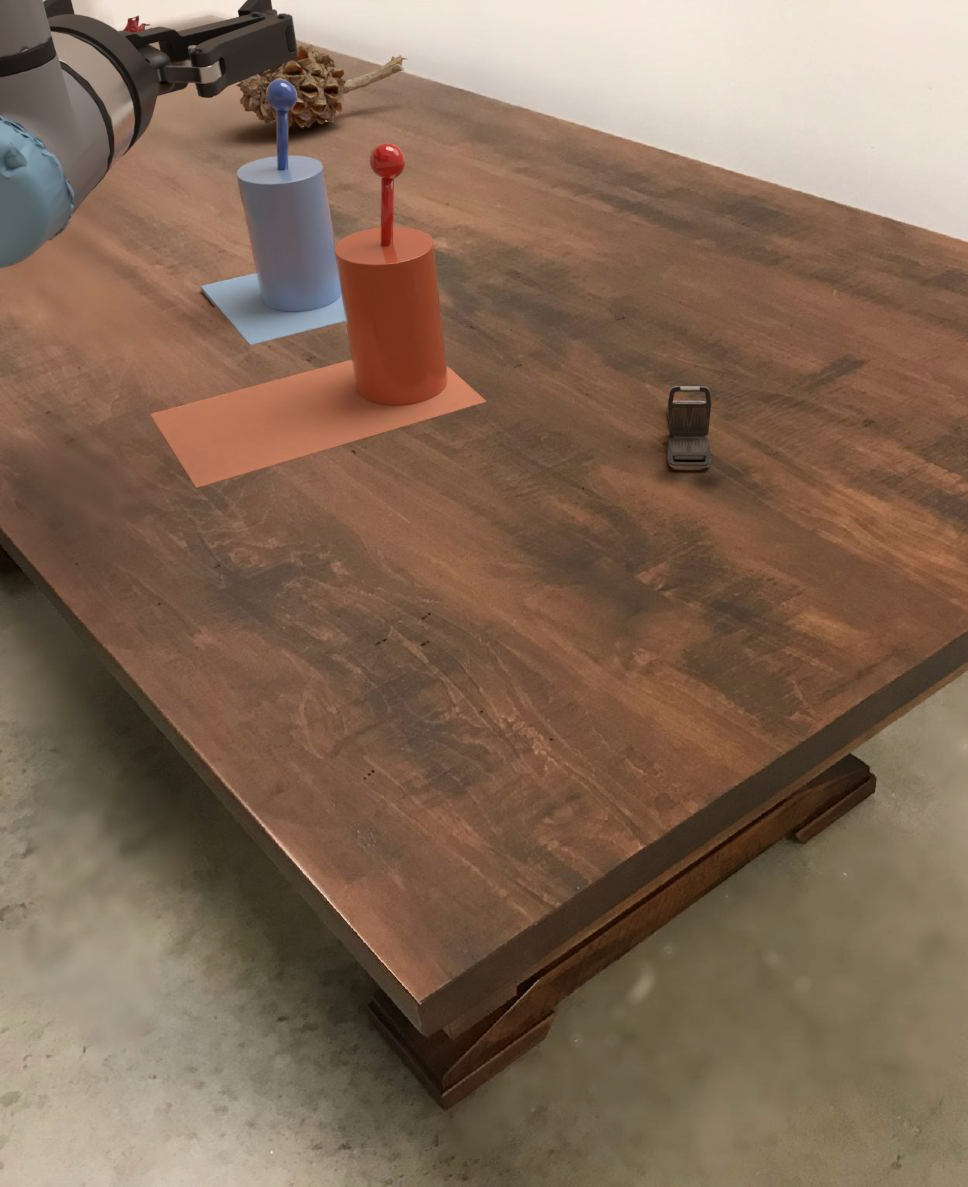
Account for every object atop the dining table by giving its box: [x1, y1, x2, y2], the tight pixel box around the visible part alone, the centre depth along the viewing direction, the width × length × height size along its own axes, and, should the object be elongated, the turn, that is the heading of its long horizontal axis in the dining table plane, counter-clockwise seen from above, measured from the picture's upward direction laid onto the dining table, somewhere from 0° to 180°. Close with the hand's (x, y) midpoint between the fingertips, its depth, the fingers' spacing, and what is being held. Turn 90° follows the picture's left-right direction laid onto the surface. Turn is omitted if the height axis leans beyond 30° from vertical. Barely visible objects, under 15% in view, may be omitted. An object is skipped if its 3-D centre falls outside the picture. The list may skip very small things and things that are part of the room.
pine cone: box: [235, 43, 407, 129], centre depth 144 cm, size 22×10×10 cm, turn 131°
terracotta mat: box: [149, 359, 487, 489], centre depth 90 cm, size 22×12×1 cm, turn 121°
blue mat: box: [200, 272, 346, 346], centre depth 106 cm, size 14×14×1 cm
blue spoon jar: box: [236, 79, 342, 312], centre depth 101 cm, size 7×7×18 cm
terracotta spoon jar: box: [335, 142, 448, 405], centre depth 87 cm, size 7×7×18 cm
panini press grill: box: [666, 385, 712, 469], centre depth 85 cm, size 8×3×4 cm, turn 177°
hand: (168, 11), depth 83 cm, fingers open, 13 cm apart
